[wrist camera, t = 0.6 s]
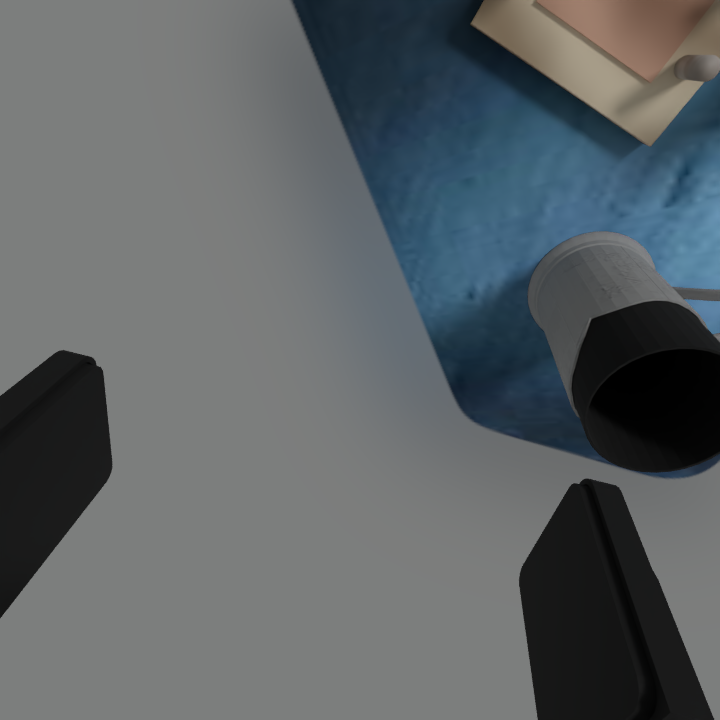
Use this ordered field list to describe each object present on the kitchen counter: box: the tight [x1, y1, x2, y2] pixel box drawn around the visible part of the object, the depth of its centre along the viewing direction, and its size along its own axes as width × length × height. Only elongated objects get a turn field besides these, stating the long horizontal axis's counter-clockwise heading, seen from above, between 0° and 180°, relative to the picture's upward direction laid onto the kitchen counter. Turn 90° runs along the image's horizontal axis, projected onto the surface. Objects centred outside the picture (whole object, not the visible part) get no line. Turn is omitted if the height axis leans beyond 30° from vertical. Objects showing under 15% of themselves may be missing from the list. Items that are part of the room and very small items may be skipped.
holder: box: [528, 231, 720, 473], centre depth 30 cm, size 9×14×15 cm, turn 109°
